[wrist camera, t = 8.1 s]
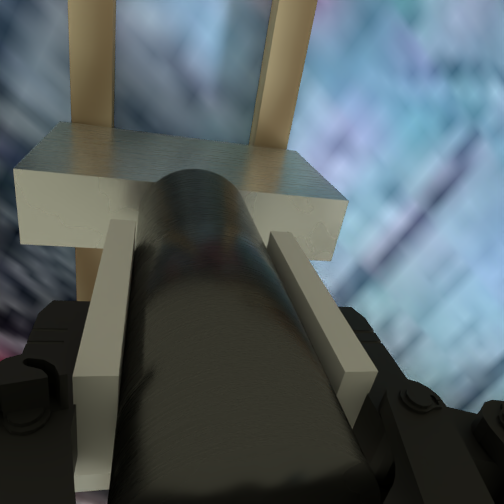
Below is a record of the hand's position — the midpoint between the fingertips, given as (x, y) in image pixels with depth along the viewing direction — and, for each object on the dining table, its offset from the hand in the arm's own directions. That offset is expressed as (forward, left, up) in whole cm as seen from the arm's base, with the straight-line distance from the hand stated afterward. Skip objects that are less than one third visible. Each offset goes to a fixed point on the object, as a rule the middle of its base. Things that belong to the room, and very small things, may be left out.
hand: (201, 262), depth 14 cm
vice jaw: (0, 0, -11) cm, 11 cm away
